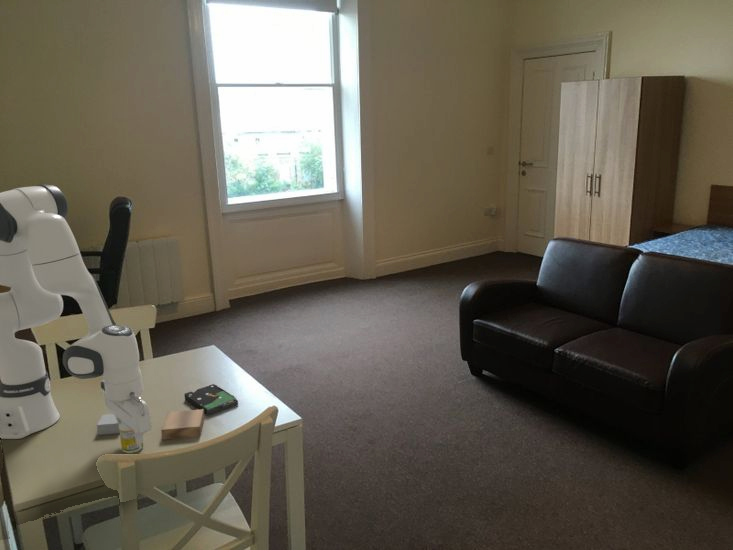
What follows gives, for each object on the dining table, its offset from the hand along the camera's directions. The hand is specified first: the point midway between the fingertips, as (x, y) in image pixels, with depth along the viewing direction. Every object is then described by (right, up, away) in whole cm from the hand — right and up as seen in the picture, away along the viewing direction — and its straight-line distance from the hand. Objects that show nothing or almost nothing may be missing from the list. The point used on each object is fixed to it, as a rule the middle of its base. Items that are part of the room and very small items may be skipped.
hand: (131, 435), depth 158 cm
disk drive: (+14, +3, +26) cm, 30 cm away
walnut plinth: (+11, -1, +10) cm, 15 cm away
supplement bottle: (0, -4, +1) cm, 4 cm away
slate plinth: (-10, -1, +11) cm, 15 cm away
